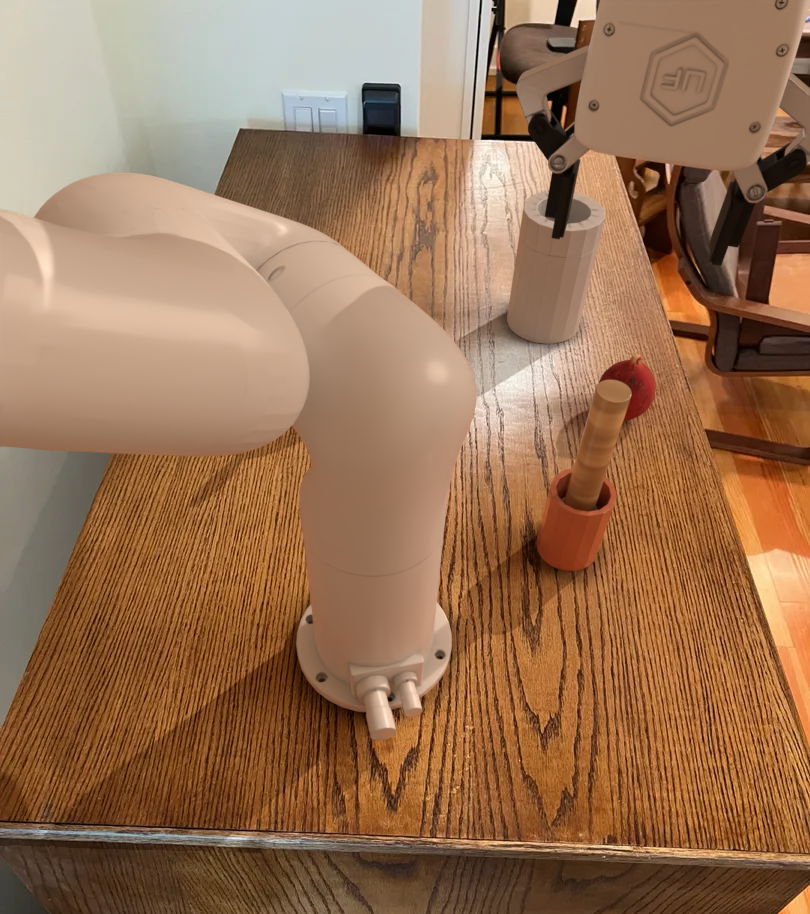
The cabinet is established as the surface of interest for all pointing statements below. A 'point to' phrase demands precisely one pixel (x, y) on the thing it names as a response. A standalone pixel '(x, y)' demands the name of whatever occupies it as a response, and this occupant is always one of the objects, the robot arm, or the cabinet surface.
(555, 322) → the white hollow cylinder
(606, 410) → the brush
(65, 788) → the cabinet surface
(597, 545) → the holder
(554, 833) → the cabinet surface
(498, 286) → the cabinet surface
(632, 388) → the onion
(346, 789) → the cabinet surface
